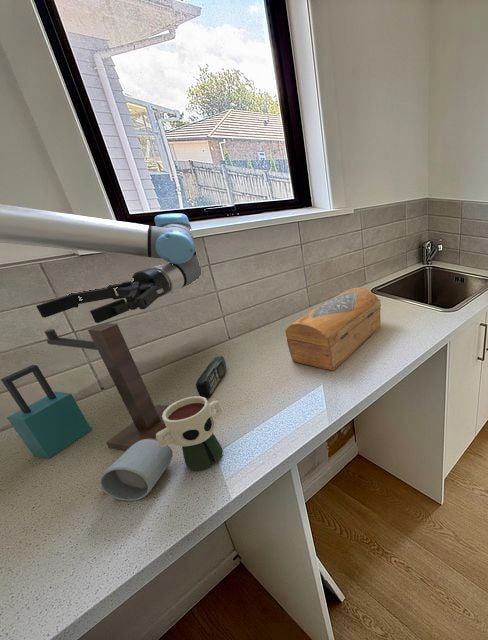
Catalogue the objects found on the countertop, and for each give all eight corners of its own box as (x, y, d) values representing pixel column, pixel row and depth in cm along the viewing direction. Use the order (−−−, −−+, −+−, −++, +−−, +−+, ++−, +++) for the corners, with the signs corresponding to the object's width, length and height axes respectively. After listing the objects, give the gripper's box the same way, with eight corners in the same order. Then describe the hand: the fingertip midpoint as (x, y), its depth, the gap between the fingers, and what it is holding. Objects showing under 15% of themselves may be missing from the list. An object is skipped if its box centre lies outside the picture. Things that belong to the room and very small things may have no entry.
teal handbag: (33, 455, 67) (-18, 383, 59) (77, 427, 74) (36, 359, 66) (49, 458, 66) (0, 386, 59) (92, 429, 74) (52, 361, 66)
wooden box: (343, 319, 124) (339, 284, 118) (383, 326, 119) (381, 290, 113) (286, 360, 99) (277, 318, 93) (333, 372, 93) (327, 328, 87)
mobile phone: (205, 383, 81) (226, 350, 94) (192, 384, 80) (214, 351, 93) (211, 399, 83) (230, 365, 96) (198, 400, 83) (219, 366, 96)
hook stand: (67, 441, 71) (0, 335, 59) (122, 404, 81) (74, 308, 70) (137, 452, 68) (80, 344, 57) (185, 412, 78) (145, 314, 67)
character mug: (186, 488, 61) (161, 434, 55) (166, 471, 64) (141, 419, 58) (242, 448, 69) (226, 398, 63) (222, 435, 72) (205, 386, 67)
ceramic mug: (181, 461, 66) (167, 431, 63) (156, 498, 59) (139, 467, 55) (122, 467, 65) (105, 437, 61) (90, 506, 57) (68, 475, 54)
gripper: (203, 297, 88) (124, 335, 69) (123, 291, 92) (28, 325, 73) (195, 270, 85) (109, 302, 66) (112, 264, 88) (9, 293, 70)
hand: (66, 314), depth 69 cm, fingers open, 13 cm apart
